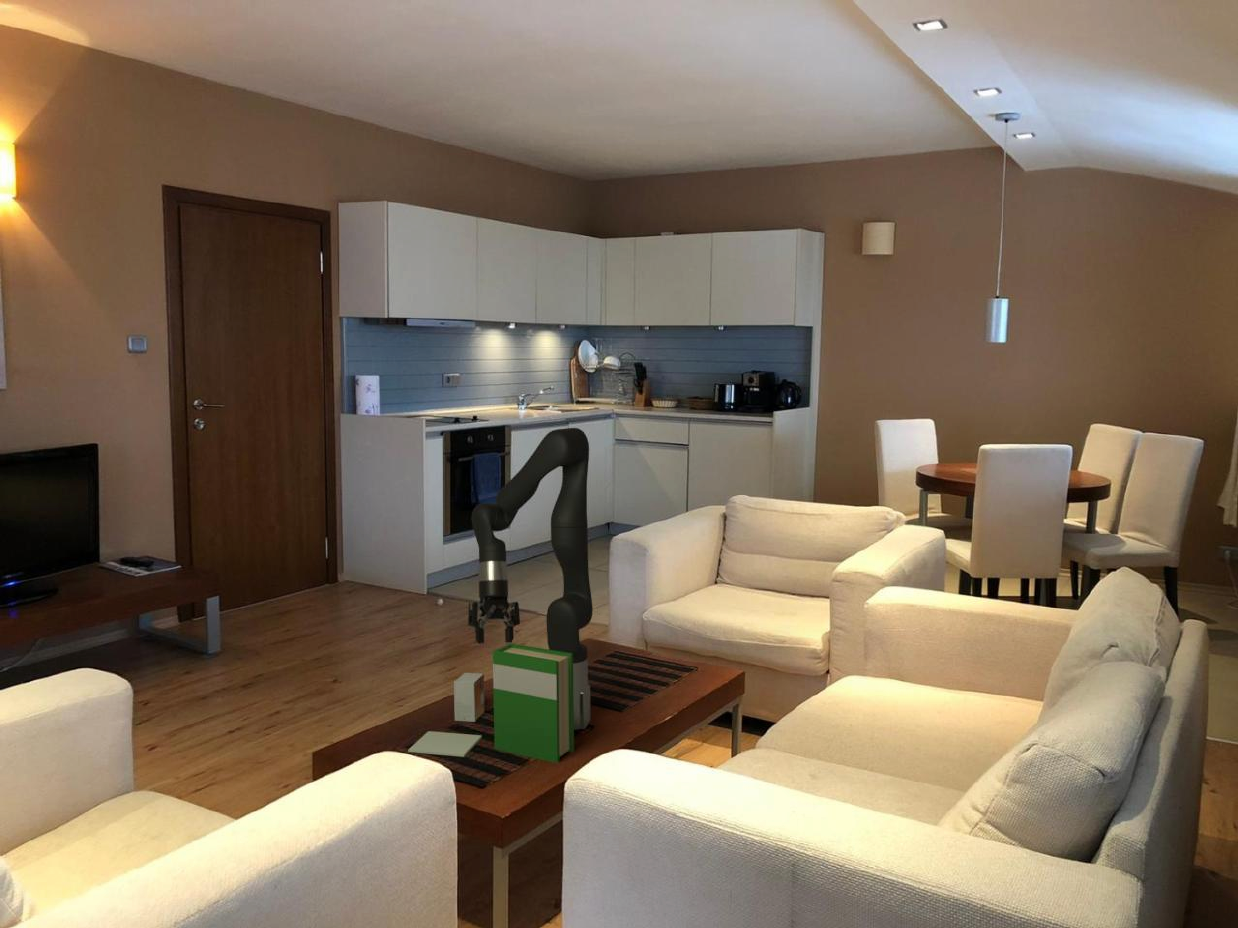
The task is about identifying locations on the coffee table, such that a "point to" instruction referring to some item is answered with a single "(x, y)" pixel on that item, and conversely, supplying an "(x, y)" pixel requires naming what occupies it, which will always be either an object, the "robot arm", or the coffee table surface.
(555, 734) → the hardback book
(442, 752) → the sage mat
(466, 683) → the small box
